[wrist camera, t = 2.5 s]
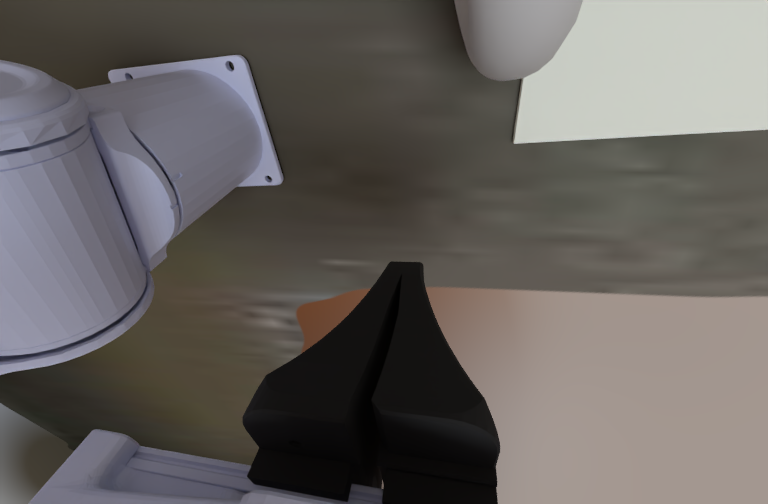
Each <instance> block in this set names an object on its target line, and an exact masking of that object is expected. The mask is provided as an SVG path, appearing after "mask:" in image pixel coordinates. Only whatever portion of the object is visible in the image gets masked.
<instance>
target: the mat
mask: <svg viewBox="0 0 768 504" xmlns="http://www.w3.org/2000/svg"><path fill="white" fill-rule="evenodd" d="M767 129H768V0H583V2H582V5H581V8H580V11H579V14H578V17H577V20H576V23H575V24H574V26H573V27H572V29H571V31H570V32H569V34H568V35H567V37H566V38H565V40H564V42H563V43H562V45H561V46H560V48H559V49H558V51H557V52H556V54H555V55H554V57H553V58H552V59H551V60H550V61H549V62H548V63H547V64H546V65H545V66H543V67H542V68H541V69H540V70H539V71H537V72H535V73H533V74H531V75H529V76H527V77H525V78H522V79H521V86H520V93H519V100H518V107H517V114H516V121H515V128H514V135H513V143H514V144H516V143H534V142H552V141H570V140H588V139H606V138H624V137H641V136H659V135H677V134H695V133H713V132H731V131H749V130H767Z"/></svg>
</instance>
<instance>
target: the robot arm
mask: <svg viewBox="0 0 768 504" xmlns="http://www.w3.org/2000/svg"><path fill="white" fill-rule="evenodd" d="M230 61H231V62H232V63H233V65H234V70H232V69H231V68H230V66H229V62H230ZM130 75H131V76H132V77H133V79H131V77H130ZM108 77H109V79H110V81H111V83H110V84H104V85H99V86H94V87H88V88H83V89H78V90H75V89H74V88H73V87H71V86H69V85H67V84H65V83H63V82H60V81H58V80H57V79H55V78H53V77H52V76H50V75H48V74H47V73H45V72H43V71H41V70H38V69H36V68H33V67H30V66H26V65H22V64H19V63H14V62H9V61H4V60H0V375H1V374H6V373H10V372H14V371H20V370H27V369H33V368H39V367H45V366H50V365H54V364H57V363H61V362H65V361H68V360H71V359H74V358H77V357H79V356H82V355H85V354H87V353H89V352H91V351H93V350H96V349H98V348H100V347H102V346H104V345H105V344H107V343H109V342H111V341H112V340H114V339H116V338H117V337H118V336H120V335H121V334H123V333H124V332H126V331H127V330H128V329H129V328H130V327H132V326H133V325H134V324H135V323H136V322H137V321H138V320H139V319H140V318H141V317H142V315H143V314H144V313H145V312H146V310H147V309H148V307H149V305H150V304H151V301H152V298H153V295H154V283H153V279H152V276H151V274H150V273H149V272H150V271H151V270H153V269H154V268H155V267H156V266H157V265H158V264H159V263H161V262H162V261H163V260H164V259H165V258H166V257H167V254H166V247H167V245H168V243H169V242H170V241H171V240H172V239H173V238H174V237H176V236H177V235H178V234H179V233H181V232H182V231H183V230H184V229H185V228H187V227H188V226H189V225H190V224H191V223H193V222H194V221H195V220H196V219H198V218H199V217H200V216H201V215H202V214H204V213H205V212H206V211H207V210H209V209H210V208H211V207H212V206H213V205H215V204H216V203H217V202H218V201H220V200H221V199H222V198H223V197H224V196H226V195H227V194H228V193H229V192H231V191H232V190H233V189H234V188H235V187H241V186H267V185H280V184H281V183H282V182H283V179H284V178H283V174H282V171H281V168H280V164H279V161H278V158H277V155H276V151H275V148H274V145H273V142H272V139H271V135H270V132H269V129H268V126H267V122H266V119H265V116H264V113H263V110H262V106H261V103H260V100H259V97H258V93H257V90H256V87H255V84H254V81H253V77H252V74H251V71H250V68H249V64H248V62H247V60H246V59H245V58H244V57H243V56H241V55H231V56H222V57H214V58H206V59H198V60H189V61H181V62H173V63H164V64H156V65H148V66H140V67H131V68H123V69H115V70H110V71H109V73H108ZM267 176H270V177H271V178H272V180H269V179H268V177H267ZM243 425H244V427H245V429H246V431H247V432H248V433H249V434H250V436H251V437H252V438H253V440H254V441H255V442H256V444H257V445H258V446H259V450H258V452H257V455H256V457H255V459H254V461H253V463H252V466H250V465H244V464H239V463H233V462H227V461H222V460H216V459H210V458H205V457H199V456H194V455H188V454H182V453H177V452H171V451H165V450H160V449H154V448H148V447H143V446H139V444H138V443H137V442H136V441H135V440H134V439H132V438H131V437H129V436H127V435H124V434H121V433H116V432H111V431H105V430H99V429H95V430H93V431H92V432H91V433H90V434H89V435H88V436H87V437H86V439H85V440H84V441H83V442H82V443H81V444H80V445H79V446H78V448H77V449H76V450H75V451H74V452H73V453H72V454H71V456H70V457H69V458H68V459H67V460H66V461H65V462H64V463H63V465H62V466H61V467H60V468H59V469H58V470H57V471H56V473H55V474H54V475H53V476H52V477H51V478H50V479H49V480H48V482H47V483H46V484H45V485H44V486H43V487H42V488H41V490H40V491H39V492H38V493H37V494H36V495H35V496H34V497H33V499H32V500H31V501H30V502H29V503H28V504H498V502H497V492H496V487H497V476H496V463H497V460H498V456H499V453H500V442H499V438H498V434H497V430H496V427H495V424H494V421H493V418H492V416H491V413H490V411H489V408H488V406H487V403H486V401H485V399H484V397H483V396H482V395H481V393H480V392H479V391H478V389H477V388H476V387H475V385H474V384H473V382H472V381H471V380H470V378H469V377H468V375H467V374H466V372H465V371H464V370H463V368H462V367H461V365H460V363H459V362H458V360H457V358H456V357H455V355H454V353H453V352H452V350H451V348H450V347H449V345H448V343H447V341H446V339H445V337H444V335H443V333H442V331H441V329H440V327H439V325H438V323H437V320H436V318H435V315H434V313H433V310H432V307H431V305H430V302H429V298H428V295H427V292H426V288H425V284H424V273H423V264H422V263H421V262H390V263H389V264H388V265H387V267H386V269H385V270H384V272H383V273H382V275H381V276H380V277H379V279H378V280H377V282H376V283H375V284H374V286H373V287H372V288H371V289H370V291H369V292H368V293H367V295H366V296H365V297H364V298H363V299H362V300H361V302H360V303H359V304H358V305H357V306H356V307H355V308H354V310H353V311H352V312H351V313H350V314H349V315H348V316H347V317H346V318H345V319H344V320H343V321H342V322H341V323H340V324H339V325H337V326H336V327H335V328H334V329H333V330H332V331H331V332H329V333H328V334H327V335H326V336H325V337H324V338H322V339H321V340H320V341H318V342H317V343H316V344H314V345H313V346H312V347H310V348H309V349H307V350H306V351H305V352H303V353H302V354H300V355H299V356H297V357H296V358H294V359H293V360H291V361H290V362H288V363H286V364H285V365H283V366H281V367H279V368H278V369H276V370H274V371H273V372H271V373H269V374H267V375H266V376H265V378H264V380H263V381H262V383H261V384H260V386H259V387H258V389H257V391H256V393H255V394H254V396H253V398H252V400H251V402H250V404H249V406H248V408H247V410H246V411H245V413H244V415H243ZM382 480H383V483H384V489H381V486H382Z"/></svg>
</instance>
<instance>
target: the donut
mask: <svg viewBox="0 0 768 504" xmlns="http://www.w3.org/2000/svg"><path fill="white" fill-rule="evenodd" d="M454 2H455V7H456V12H457V16H458V21H459V25H460V29H461V33H462V36H463V40H464V43H465V47H466V50H467V53H468V56H469V58H470V60H471V62H472V63H473V65H474V66H475V67H476V69H477V70H478V71H479V73H481V74H482V75H484V76H486V77H487V78H489V79H492V80H497V81H508V80H514V79H520V78H525V77H527V76H529V75H531V74H533V73H535V72H537V71H539V70H540V69H541V68H542V67H543V66H545V65H546V64H547V63H548V62H549V61H550V60H551V59H552V58H553V57H554V55H555V54H556V52H557V51H558V49H559V48H560V46H561V45H562V43H563V42H564V40H565V38H566V37H567V35H568V34H569V32H570V31H571V29H572V27H573V26H574V24H575V23H576V20H577V17H578V14H579V11H580V8H581V5H582V2H583V0H454Z"/></svg>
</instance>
